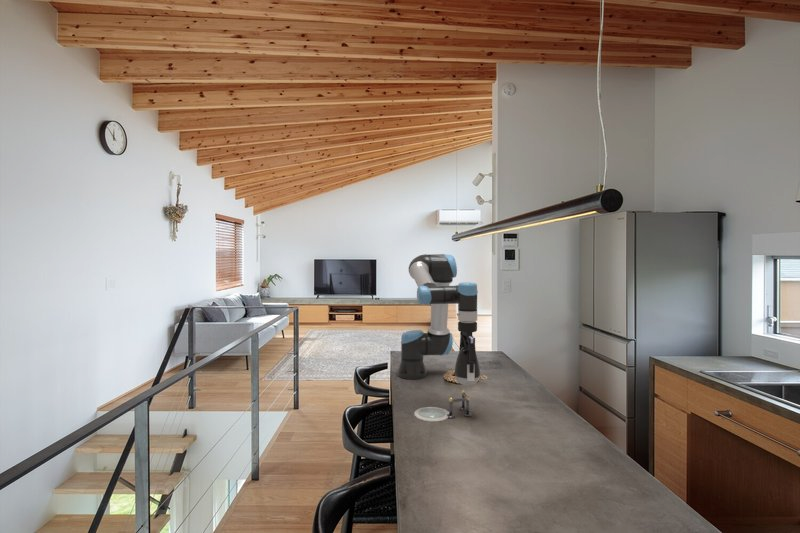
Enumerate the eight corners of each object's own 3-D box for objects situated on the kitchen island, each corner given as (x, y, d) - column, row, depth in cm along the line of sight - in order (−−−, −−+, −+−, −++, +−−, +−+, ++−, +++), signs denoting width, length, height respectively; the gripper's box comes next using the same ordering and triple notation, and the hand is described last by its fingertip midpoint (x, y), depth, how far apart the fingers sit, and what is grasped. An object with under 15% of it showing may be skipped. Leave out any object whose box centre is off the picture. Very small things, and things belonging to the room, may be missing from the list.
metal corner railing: (442, 408, 176) (442, 389, 176) (466, 407, 177) (466, 388, 177) (447, 418, 165) (447, 398, 165) (473, 417, 166) (473, 398, 166)
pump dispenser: (450, 385, 167) (450, 347, 166) (459, 378, 176) (459, 342, 176) (475, 389, 162) (475, 349, 162) (483, 382, 171) (483, 344, 171)
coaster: (412, 408, 175) (412, 407, 175) (445, 407, 177) (445, 406, 177) (417, 422, 161) (417, 420, 161) (453, 420, 163) (453, 419, 163)
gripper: (451, 317, 180) (451, 369, 180) (465, 326, 157) (465, 385, 157) (469, 317, 180) (469, 368, 181) (485, 325, 158) (484, 385, 158)
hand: (467, 376), depth 169 cm, fingers closed on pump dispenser, 10 cm apart
